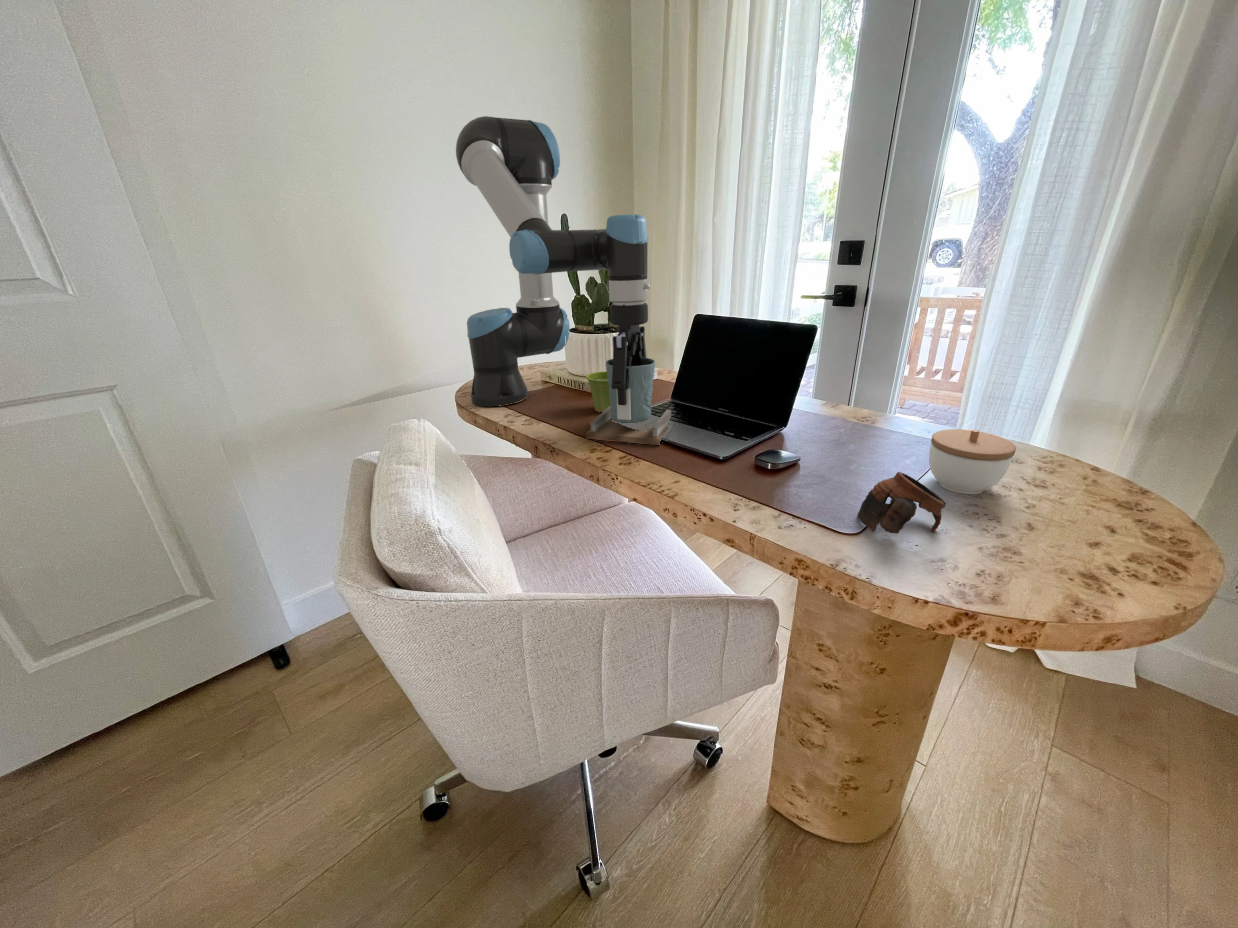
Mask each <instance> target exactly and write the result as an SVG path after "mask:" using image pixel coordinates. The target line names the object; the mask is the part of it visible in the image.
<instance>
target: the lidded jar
mask: <svg viewBox="0 0 1238 928" xmlns="http://www.w3.org/2000/svg"><path fill="white" fill-rule="evenodd" d="M930 443H931V444H930V447H929V453H928V465H929V468H930V471H931V473H932V475H933V476H934V478H935V480H936V481H937V482H938V484H939V486H940V487H941V488H944V490H945V489H946V490H947V491H950V492H953V493H958V494H962V495H979V494H982V493H983V492H984V491H986V490H988V489H990V488H992V487H995V486H996V485H997V484H999V482H1000V481H1002V479H1003V478H1004V477H1005V475H1006V473H1007V472H1008V470H1009V468H1010V465H1011V462H1012V459H1013V457H1014V455H1015V453H1016V451H1017V448H1016V445H1015V444H1014V443H1013V442H1012V441H1010V440H1008V439H1007V438H1004V437H1001V436H998V435H996V434H992V433H987V432H983V431H980V430H977V429H960V428H959V429H955V428H954V429H943V430H939V431H936V432H933V434H932V436H931V440H930Z"/></svg>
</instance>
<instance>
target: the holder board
mask: <svg viewBox="0 0 1238 928" xmlns="http://www.w3.org/2000/svg"><path fill="white" fill-rule="evenodd" d="M660 416H661V418H660V419H659V420H658V421H657V423H656V424H655V425H653V427H652V428H651V429H649V428H648V427H646V426H645V427H646V430H647V432H645V431H641V430H638V429H637V430H635V429H631V428H628V427H626V426H623V425H621V424H619V423H615V422H612V420H613V419H612V417H611V408H610V406H609V407H608V408H607V409H606V410H605V411H603V412H602V413H600V414H599V415H598V416H596V417H595V418H594V419H593V420H592V421H591V422H589V425H590V428H589V430H587V431H586V432H585V439H606V440H607V439H608V440H616V441H629V442H636V443H644V444H651V445H650V446H652V445H660V441H661V438H662V436H663V435H664V433H665V432H666V430H667V429H668V427H665V426H666V425H667V423H668V422H669V420H670V418H671V417H672V410H671V409H666V410H665V411H664V412H663V414H662V415H660ZM660 446H661V445H660Z"/></svg>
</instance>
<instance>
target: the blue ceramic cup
mask: <svg viewBox="0 0 1238 928" xmlns="http://www.w3.org/2000/svg"><path fill="white" fill-rule="evenodd" d="M627 368H629V385H628V388H630V400H631V419H630V420H622V419H617V394H616V389H612V387H611V385H612V371H613V358H610V359H608V360H606V361H605V369H606V371H607V378H608V384H609V397H610V400H611V403H610V408H611V417H612V419H613V420H614V421H617V422H621V423H638V422H643V421H646V420H648V419H649V418H650V416H652V398H653V392H654V391H653V390H654V387H653V383H654V377H655V368H656V362H655V360H654V359H652V358H648V357H646V358H644V357H642V366H633V365H631V366H630V367H627V366H626V369H627Z"/></svg>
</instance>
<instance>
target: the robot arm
mask: <svg viewBox="0 0 1238 928" xmlns="http://www.w3.org/2000/svg"><path fill="white" fill-rule="evenodd" d="M557 141H558V140H557V138H556V135H555V134H554V132H553V131H552V129H551V127H549V126H548V125H547V124H545V123H544V122H538V121H533V120H531V119H517V118H516V119H515V118H505V117H494V116H490V115H489V116H488V115H487V116H486V115H485V116H480V117H479V116H478V117H476V118H474V119H472V120H470V121H469V122H468V123H467V124H465V125H464V126H463V127H462V129H461V131H460V132H459V134H458V137H457V139H456V145H455V156H456V162H457V165H458V167H459V169H460V171H461V173H462V175H464V177H465V179H466V180H467V181H468V182H469V183H470V184H471V185H473V186H475V187H477V189H478V190H479V192H480V193H481V195H482V196H483V198H484V199H485V201H486V202H487V204H488V206H489V207H490V208H491V210H492V211H493V214H494V215H495V216H496V218H497V219H498V221H499V222H500V224H501V226H502V227H503V228H504V230H505V232H507V234H508V236H509V237H510V239H509V243H508V244H509V247H508V250H509V256H510V257H509V258H510V260H511V261H512V265H513V268H514V269H515V270H516V271H517V272H518V279H519V280H518V281H519V292H520V293H519V294H520V299H518V301H517V302H515V309H516V311H515V312H513V311H512V309H511V308H509V307H499V308H498V307H497V308H491V309H486V310H483V311H482V310H481V311H479V312H476V313H473V314H471V315H470V316H468V318H467V321H466V326H467V328H466V329H467V330H466V331H467V338H468V343H469V349H470V355H471V356H470V357H471V361H472V366H473V379H472V386H471V392H470V397H471V398H470V399H471V403H472V404H473V405H474V404H475V405H474V406H477V405H479V406H478V407H482V406H499V405H505V404H510V403H514V402H517V401H520V400H522V399H524V398H526V397H527V396H528V397H529V393H528V392H529V391H528V388H527V386H526V383H525V380H524V377H522V375H521V372H520V370H519V361H518V359H519V358H523V357H526V358H527V357H532V356H538V355H544V354H545V355H550V354H551V353H556V352H559V351H560V352H561V351H562V349H564V348H565V346H566V345H567V344H568V341H569V337H570V329H571V328H570V320H569V318H568V314H567V312H566V310H565V309H564V308H561V306H560V302H559V300H558V299H556V298H555V296H554V287H553V275H552V274H554V273H564V272H565V273H566V272H583V271H598V270H602V271H604V270H607V271H608V296H609V297H608V301H609V302H611V304H610V306H609V314H610V316H609V318H610V319H609V320H610V323H611V324H612V325H613V326H614V325H615V326H618V334H617V335H615V336H613V337H612V345H613V346H612V347H613V351H612V352H613V354H612V359H613V371H612V385H611V387H612V389H616V394H617V419H622V420H630V419H631V400H630V388H628V385H629V368H627V369H626V366H627V367H630V366H631V365H633V366H642V357H644V358H647V349H646V340H645V338H646V337H645V335H646V334H645V332H646V331H645V330H646V329H645V328H646V327H645V326H641V325H644V324H647V322H648V321H649V304H647V302H645V301H647V300H648V299H649V298H648V295H649V294H648V290H650V289H651V285H650V284H649V283H648V242H649V238H648V237H649V236H648V229H647V228H648V227H647V219H646V217H645V216H643V215H642V214H633V213H632V214H631V213H630V214H616V215H615V214H614V215H611V216H608V218H607V220H606V228H603V229H602V228H601V229H600V228H599V229H598V228H597V229H554V230H553V229H552V228H551V226H550V224H549V217H548V214H549V213H548V202H547V199H548V198H547V195H548V193H549V192H550V190H551V189H552V187H553V182H552V180H554V179H555V178H556V177H558V175H559V172H560V169H559V168H560V167H561V156H560V155H561V154H560V149H559V143H558V142H557ZM568 331H569V332H568ZM565 336H566V344H565Z"/></svg>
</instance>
